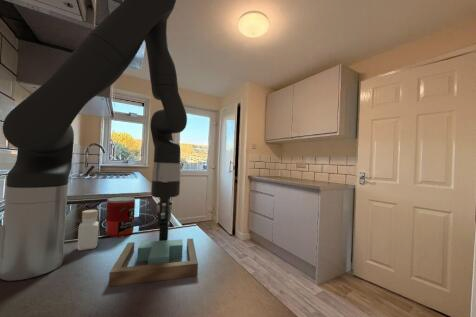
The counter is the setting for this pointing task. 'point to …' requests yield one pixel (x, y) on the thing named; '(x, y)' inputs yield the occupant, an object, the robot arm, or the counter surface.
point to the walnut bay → (152, 268)
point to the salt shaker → (88, 230)
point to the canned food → (120, 216)
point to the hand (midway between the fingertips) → (163, 240)
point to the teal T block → (159, 251)
